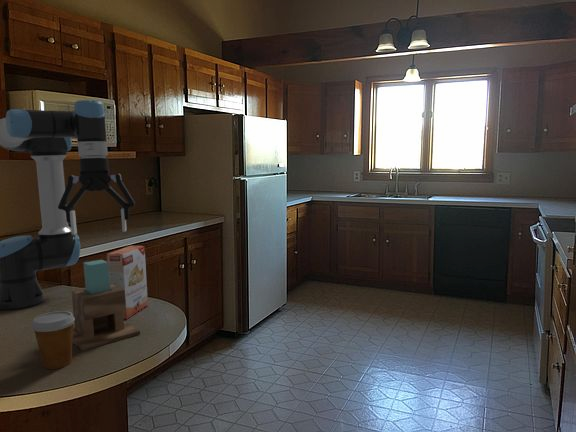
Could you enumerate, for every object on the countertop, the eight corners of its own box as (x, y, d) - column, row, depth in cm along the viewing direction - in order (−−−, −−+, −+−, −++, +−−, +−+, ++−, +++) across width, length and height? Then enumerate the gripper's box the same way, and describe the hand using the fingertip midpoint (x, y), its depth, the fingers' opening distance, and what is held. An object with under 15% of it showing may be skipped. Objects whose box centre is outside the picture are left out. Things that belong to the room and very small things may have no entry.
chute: (63, 334, 136) (59, 290, 135) (118, 320, 147) (115, 279, 145) (81, 350, 124) (77, 302, 123) (140, 334, 135) (137, 289, 133)
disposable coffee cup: (76, 368, 114) (71, 320, 112) (31, 375, 111) (26, 325, 110) (81, 353, 123) (77, 308, 121) (40, 358, 120) (35, 313, 119)
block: (87, 304, 135) (83, 262, 133) (104, 300, 138) (101, 259, 136) (93, 307, 131) (89, 265, 129) (111, 303, 134) (107, 262, 133)
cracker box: (127, 320, 147) (122, 253, 144) (110, 319, 148) (104, 253, 146) (149, 305, 161) (145, 245, 158) (133, 305, 162) (128, 244, 159)
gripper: (41, 158, 127) (48, 237, 129) (138, 156, 131) (143, 231, 134) (49, 158, 134) (56, 233, 137) (141, 156, 138) (146, 228, 141)
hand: (99, 232), depth 135 cm, fingers open, 13 cm apart
